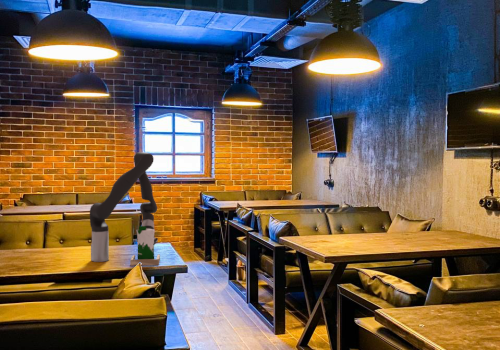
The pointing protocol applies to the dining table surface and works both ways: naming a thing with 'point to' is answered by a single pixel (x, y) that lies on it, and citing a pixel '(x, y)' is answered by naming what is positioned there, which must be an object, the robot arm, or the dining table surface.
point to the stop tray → (145, 261)
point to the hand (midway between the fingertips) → (146, 252)
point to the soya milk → (145, 243)
